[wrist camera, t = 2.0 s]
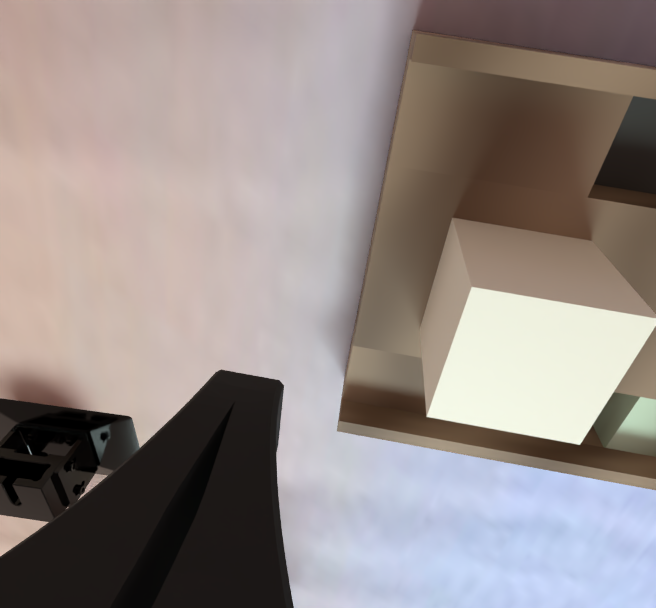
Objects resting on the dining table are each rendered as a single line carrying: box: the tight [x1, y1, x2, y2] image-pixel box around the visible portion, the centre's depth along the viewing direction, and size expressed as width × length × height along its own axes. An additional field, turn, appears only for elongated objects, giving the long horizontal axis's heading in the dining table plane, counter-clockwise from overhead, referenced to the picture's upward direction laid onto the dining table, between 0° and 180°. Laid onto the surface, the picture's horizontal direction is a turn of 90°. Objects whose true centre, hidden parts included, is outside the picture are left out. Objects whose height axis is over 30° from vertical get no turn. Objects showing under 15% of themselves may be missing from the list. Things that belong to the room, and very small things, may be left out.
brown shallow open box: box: [337, 30, 656, 490], centre depth 16 cm, size 18×14×3 cm
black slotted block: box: [0, 398, 140, 522], centre depth 25 cm, size 12×7×5 cm, turn 87°
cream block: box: [420, 218, 656, 445], centre depth 14 cm, size 4×4×4 cm
